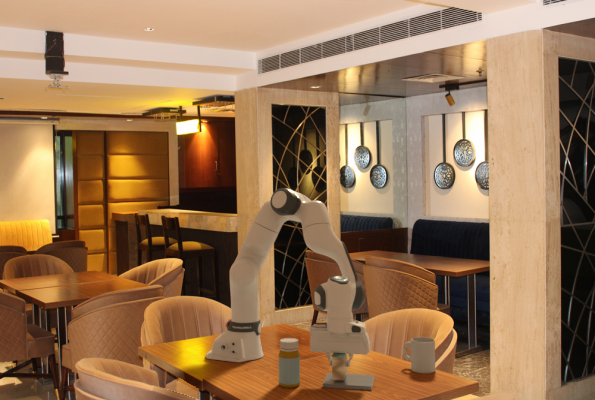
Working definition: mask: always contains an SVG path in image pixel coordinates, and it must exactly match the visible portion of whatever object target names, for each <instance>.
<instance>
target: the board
mask: <svg viewBox="0 0 595 400" xmlns="http://www.w3.org/2000/svg"><path fill="white" fill-rule="evenodd" d="M374 382H375V375H373V374H361V373H360V374H358V373H356V374H355V373H347V374H346V377H345V380H332V372H327V374H326V376H325V378H324V381H323V382H322V388H329V389H331V388H332V389H346V390H347V389H348V390H360V389H361V390H362V389H363V390H364V391H372V389H373V386H374V385H373V384H374Z"/></svg>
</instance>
